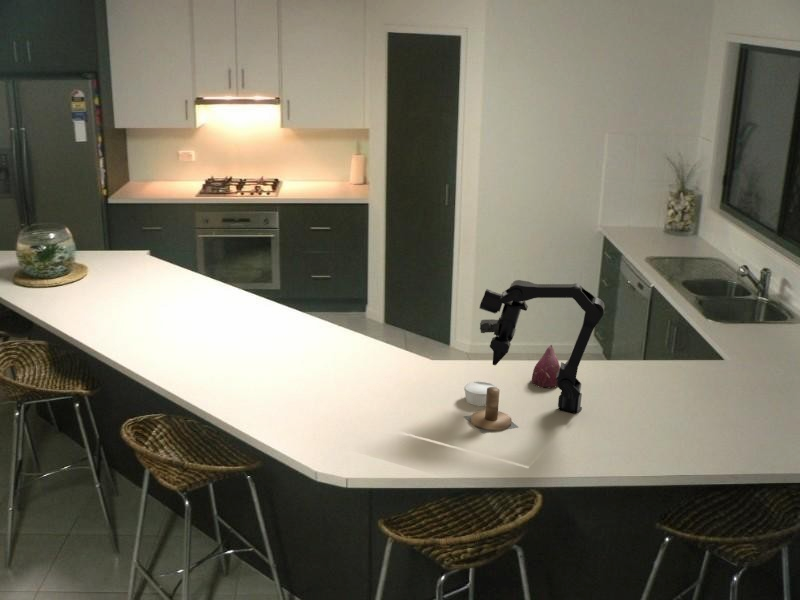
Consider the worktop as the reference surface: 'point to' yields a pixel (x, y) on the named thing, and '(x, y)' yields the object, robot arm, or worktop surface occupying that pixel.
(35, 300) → the worktop surface
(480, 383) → the ramekin
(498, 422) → the walnut lid
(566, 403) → the robot arm
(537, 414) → the worktop surface
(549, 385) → the vegetable
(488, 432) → the rubber mat
